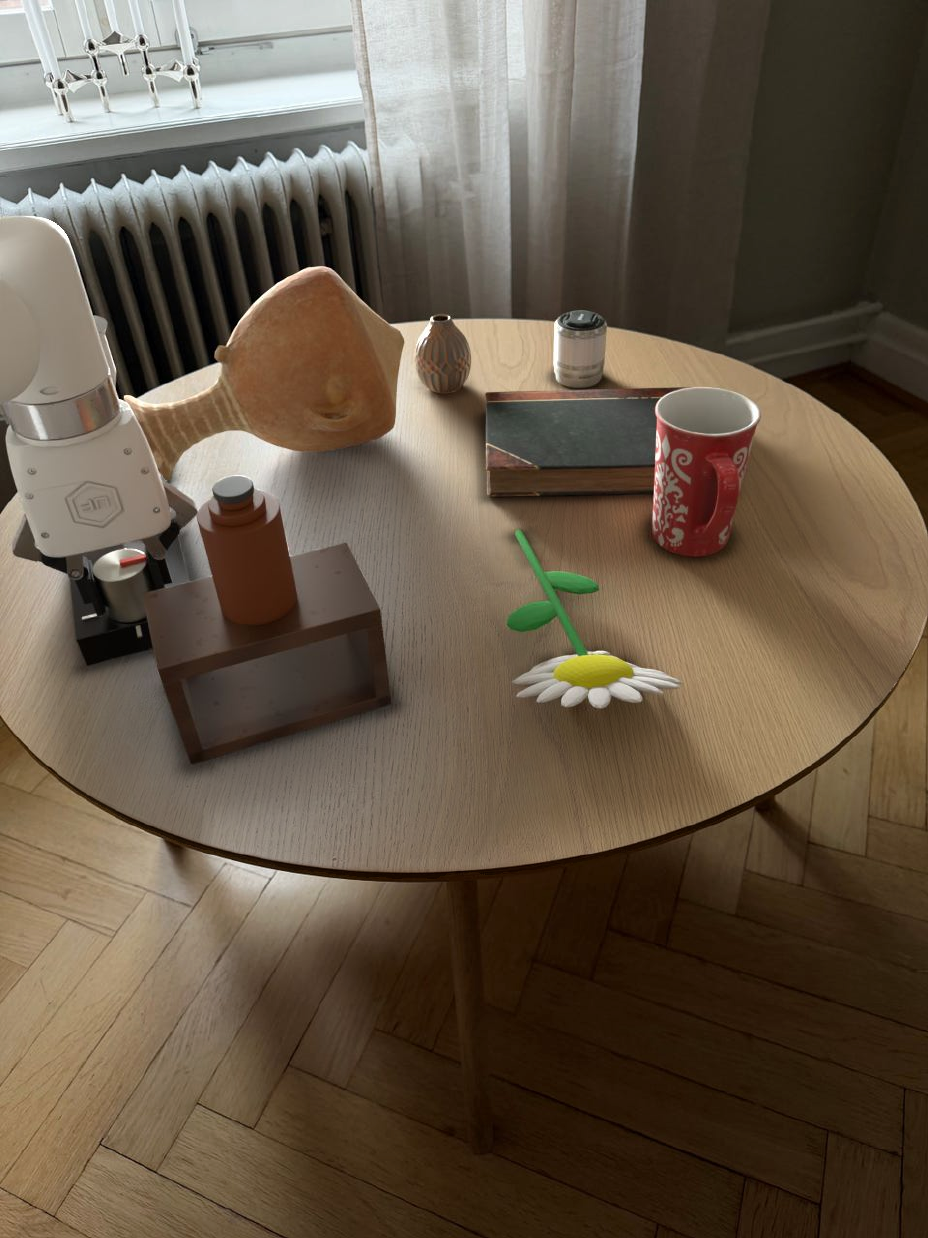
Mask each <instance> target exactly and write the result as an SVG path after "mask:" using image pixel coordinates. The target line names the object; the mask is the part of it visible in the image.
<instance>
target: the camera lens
mask: <svg viewBox="0 0 928 1238" xmlns="http://www.w3.org/2000/svg"><path fill="white" fill-rule="evenodd" d="M607 331H608V323H607V320H606V319H605V318H604V317H603V316H602V315H600V314H599V313H596V312H593V311H589V310H581V309H580V310H572V311H569V312H566V313H562V315H560V316H558V318H557V319H556V320H555V322H554V332H553V333H554V337H553V338H554V340H553V367H554V369H553V371H554V374H555V380H556V381H557V382H558V383H559V384H560V385H562V386H565V387H568V388H576V389H581V388H583V389H584V388H589V387H592V386H593V387H594V386H595V385H597V384H598V383H599V382H600V381H601V379H602V378H603V374H604V367H605V364H606V363H605V361H606V360H605V359H606V347H607V346H606V343H607Z"/></svg>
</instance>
